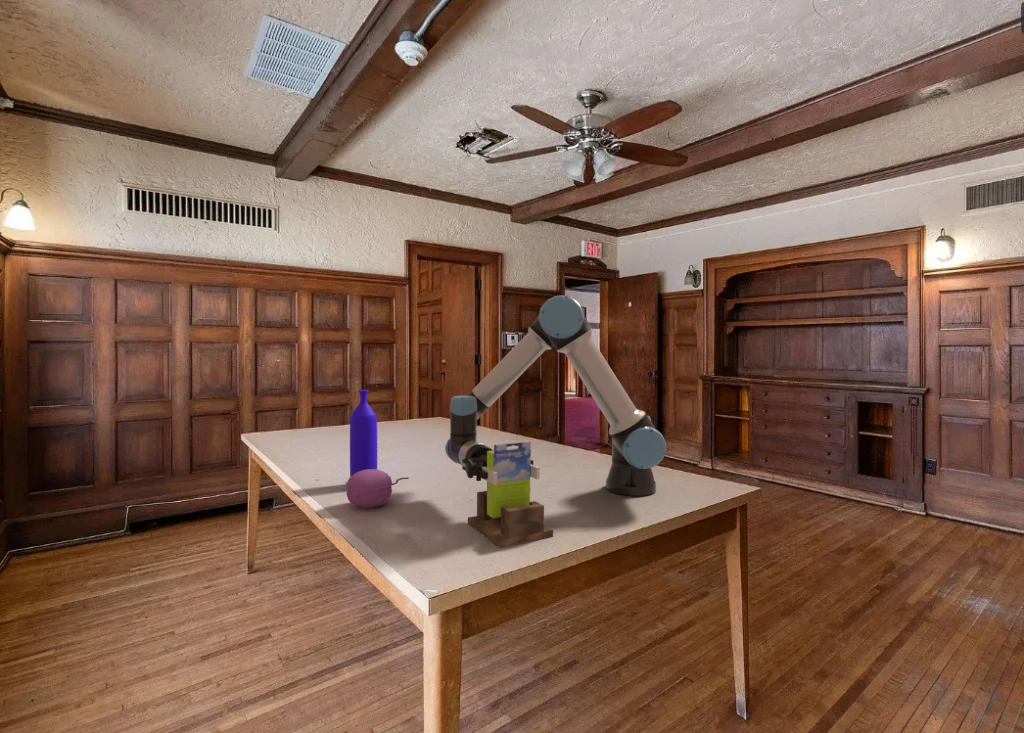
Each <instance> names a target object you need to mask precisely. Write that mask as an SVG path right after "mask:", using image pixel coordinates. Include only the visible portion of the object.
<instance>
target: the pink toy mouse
mask: <svg viewBox="0 0 1024 733" xmlns="http://www.w3.org/2000/svg"><path fill="white" fill-rule="evenodd" d="M409 479H410V478H409V477H400V478H398V479H396V480H395V482H392V481H393V480H392V478H391V476H390V475H389V474H388V473H387V472H385V471H383V470H381V469H377V470H376V469H367V470H362V471H359V472H357V473H355V474H354V475H352V476H351V477H349V478H348V480H347V481H345V484H346V498H347V499H348V501H349V502H350V503H351V504H352V505H353V506H355V507H357V508H364V509H371V508H377V507H379V506H382V505H383V504H386V503H387V502H388V501H389V499H390V498H391V496H392V494H393V489H392V486H394V485H397V484H398V483H399V481H402V480H409Z"/></svg>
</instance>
